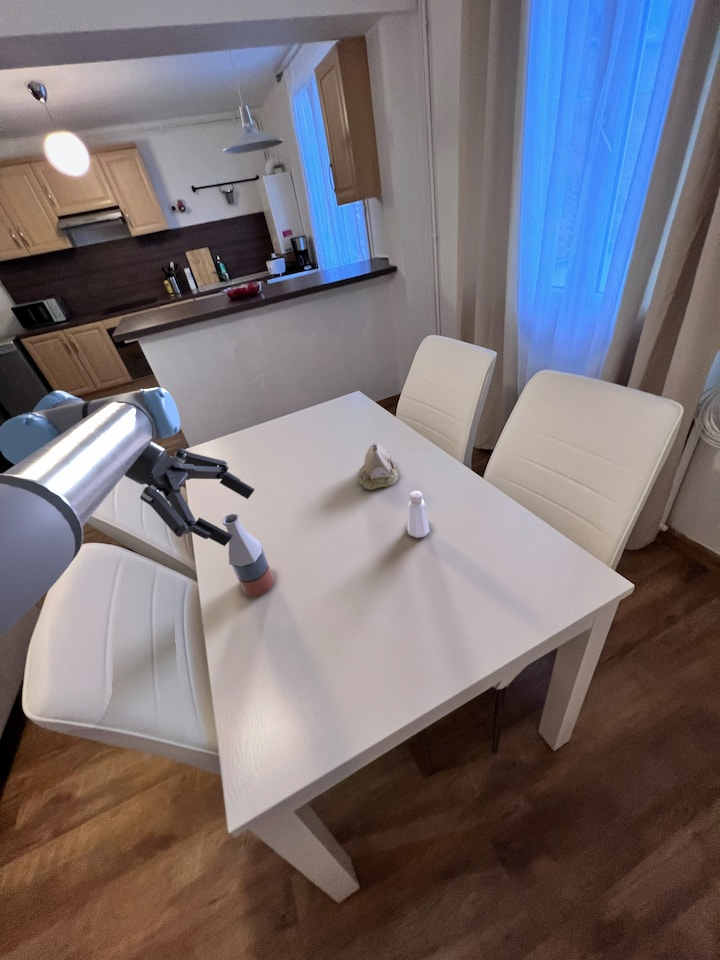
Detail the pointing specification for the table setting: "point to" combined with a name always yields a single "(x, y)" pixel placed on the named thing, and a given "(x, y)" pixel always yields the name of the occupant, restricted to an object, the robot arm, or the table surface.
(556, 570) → the table surface
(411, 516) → the pepper shaker
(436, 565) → the table surface
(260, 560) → the cup stack
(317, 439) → the table surface
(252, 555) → the flask
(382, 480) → the ceramic model
